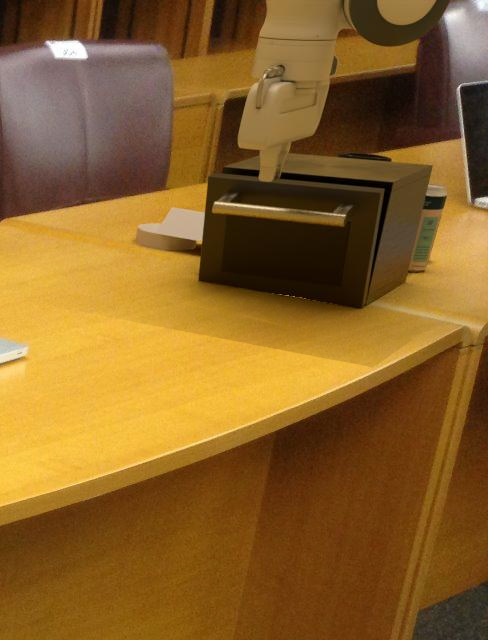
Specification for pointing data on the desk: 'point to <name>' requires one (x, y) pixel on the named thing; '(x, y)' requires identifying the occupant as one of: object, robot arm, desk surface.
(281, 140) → the robot arm
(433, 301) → the desk surface
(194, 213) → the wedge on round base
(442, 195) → the pink and green canister
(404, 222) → the oven
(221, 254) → the oven door
